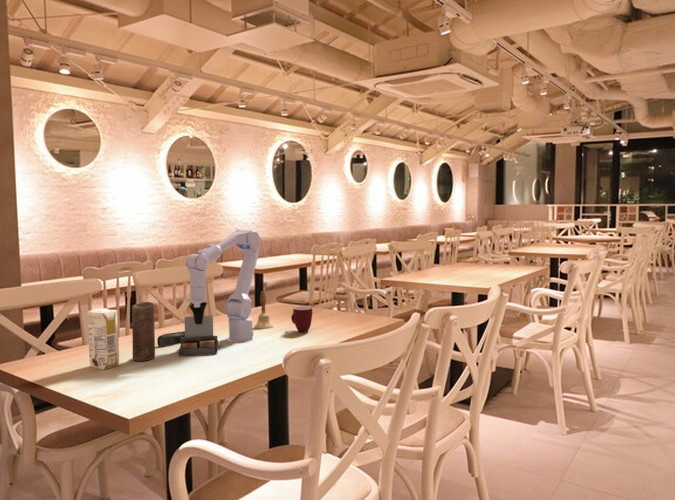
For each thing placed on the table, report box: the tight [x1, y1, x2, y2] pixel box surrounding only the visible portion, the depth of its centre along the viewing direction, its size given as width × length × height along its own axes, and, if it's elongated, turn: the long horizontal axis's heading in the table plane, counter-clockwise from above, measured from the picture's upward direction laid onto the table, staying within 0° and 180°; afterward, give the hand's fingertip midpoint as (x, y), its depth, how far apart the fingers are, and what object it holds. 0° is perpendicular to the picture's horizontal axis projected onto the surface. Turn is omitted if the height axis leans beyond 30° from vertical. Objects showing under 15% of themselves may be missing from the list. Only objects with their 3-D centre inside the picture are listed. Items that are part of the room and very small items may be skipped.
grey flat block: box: [184, 315, 214, 337], centre depth 196 cm, size 10×2×8 cm, turn 100°
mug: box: [291, 305, 313, 334], centre depth 226 cm, size 10×8×10 cm
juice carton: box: [87, 307, 120, 371], centre depth 178 cm, size 8×9×19 cm
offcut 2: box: [200, 340, 214, 348], centre depth 192 cm, size 5×2×4 cm, turn 100°
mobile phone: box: [156, 330, 185, 349], centre depth 205 cm, size 5×3×15 cm
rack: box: [178, 335, 219, 357], centre depth 194 cm, size 13×11×6 cm
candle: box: [131, 301, 156, 363], centre depth 184 cm, size 8×7×20 cm
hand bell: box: [253, 290, 274, 330], centre depth 235 cm, size 8×8×16 cm
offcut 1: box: [182, 343, 197, 349], centre depth 191 cm, size 5×2×4 cm, turn 100°
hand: (199, 323), depth 196 cm, fingers closed on grey flat block, 2 cm apart
